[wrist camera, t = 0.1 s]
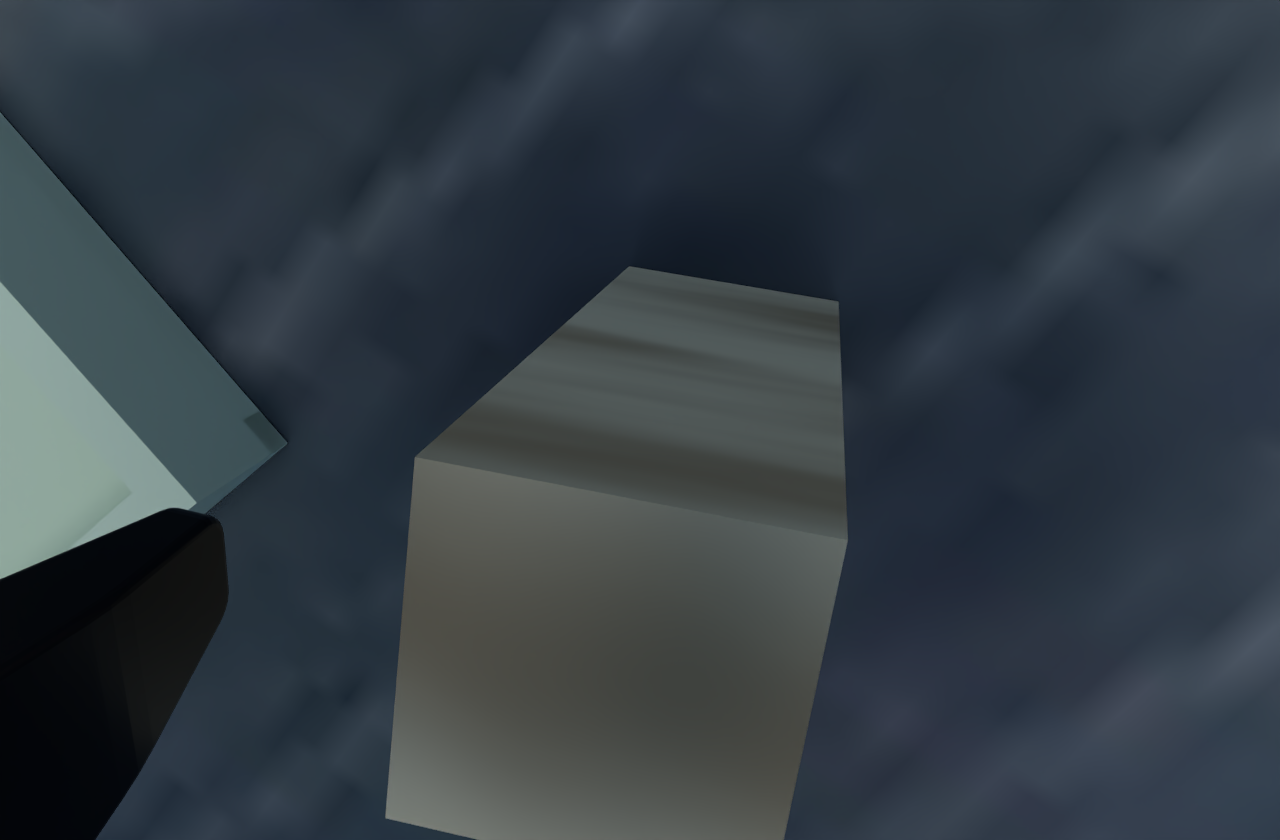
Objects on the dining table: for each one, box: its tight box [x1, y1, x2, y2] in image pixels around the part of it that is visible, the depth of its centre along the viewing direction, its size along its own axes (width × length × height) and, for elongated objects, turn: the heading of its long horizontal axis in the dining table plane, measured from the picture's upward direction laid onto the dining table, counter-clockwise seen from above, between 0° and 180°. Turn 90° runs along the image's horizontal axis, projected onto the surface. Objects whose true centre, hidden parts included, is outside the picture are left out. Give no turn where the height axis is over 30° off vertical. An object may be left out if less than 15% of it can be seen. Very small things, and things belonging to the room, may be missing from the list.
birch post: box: [385, 266, 848, 840], centre depth 18 cm, size 4×4×13 cm
